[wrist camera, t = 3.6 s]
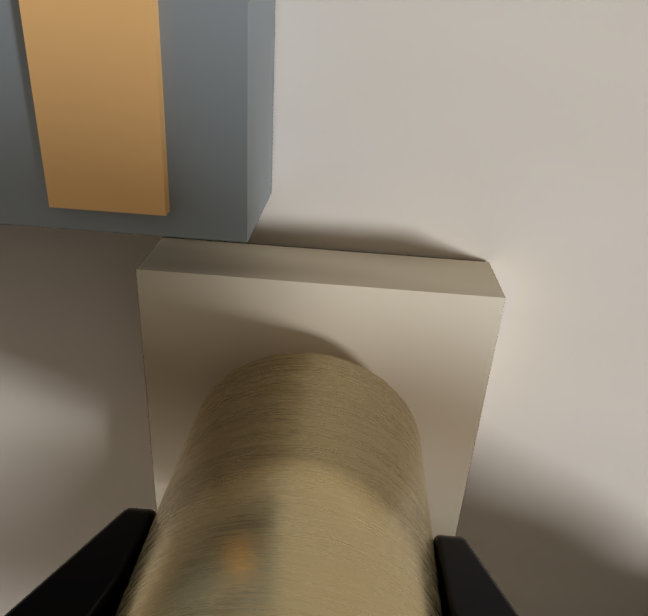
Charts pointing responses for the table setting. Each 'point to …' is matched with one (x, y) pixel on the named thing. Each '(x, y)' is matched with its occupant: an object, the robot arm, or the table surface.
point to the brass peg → (293, 501)
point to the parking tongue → (322, 338)
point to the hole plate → (137, 115)
